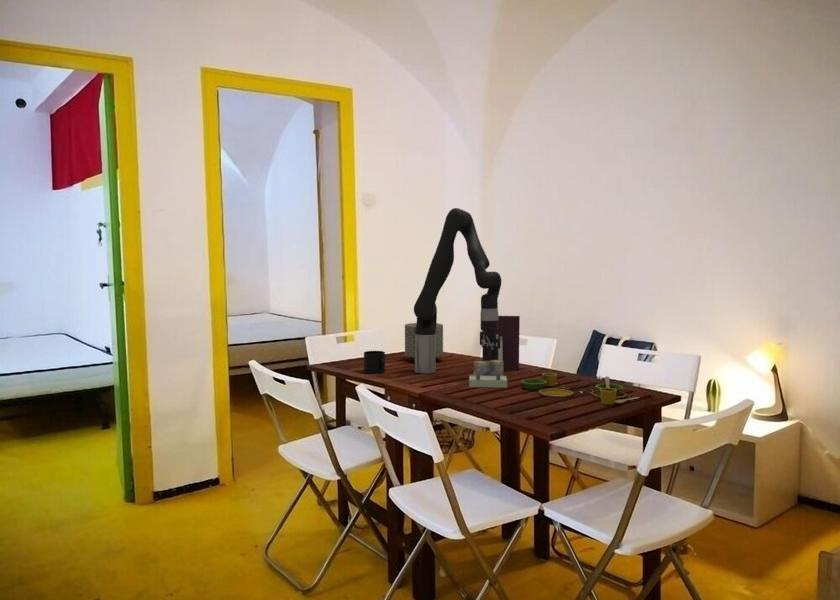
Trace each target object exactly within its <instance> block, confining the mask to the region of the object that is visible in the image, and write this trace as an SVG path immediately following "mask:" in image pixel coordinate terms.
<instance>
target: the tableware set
mask: <svg viewBox="0 0 840 600" xmlns="http://www.w3.org/2000/svg"><path fill="white" fill-rule="evenodd" d="M541 377H542V379H539V378H524V379H522V380H520V382H521V384H522V385H523V386H524V388H525V390H529V391H538V393H539V394H540V395H542V396H543V397H548V398H555V399H556V398H561V399H562V398H569V397H571V396H573V395H574V391H572V390H569V389H566V388H544V387H547V386H554V387H556V385H555V384H557V379H558V378H557V377H558V375H557V373H553V372H545V373H544V372H543V373H542V374H541ZM610 381H611V379H610V376H605V377H604V383H598V384H595V389H598V390H596V391H592V392H590V394H591V396H593V397H594V396H595V397H594V398H596V399H600V402H601V404H602V405H606V406H607V405H608V406H611V405H612V406H613V405H615V403H618V404H622V403H626V402H628V401H627V400H631V401H634V400H633V399H638V398H640V397H639V396H636V397H631V398H630V397H629V398H624V397H627V396H628V395H627V393H626V392H624V391H622V390H624V386H622V385H619V384H615V383H610ZM583 391H584V390H582V391H579V392H580V394H584V393H583ZM618 393H620V394H623V396H619V395H617V394H618ZM620 398H623V399H620ZM638 400H639V399H638Z"/></svg>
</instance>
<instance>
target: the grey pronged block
mask: <svg viewBox="0 0 840 600" xmlns="http://www.w3.org/2000/svg"><path fill="white" fill-rule="evenodd" d="M468 381H469V382H468V384H469V385H468V388H493V389H494V388H496V389H498V388H501V389H504V388H505V389H507V388H508V378H507V376H506V375H503V376H500V367H499V366H496V376H480V366H476V376H474V374H472V375H469V379H468Z"/></svg>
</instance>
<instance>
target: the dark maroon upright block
mask: <svg viewBox="0 0 840 600" xmlns="http://www.w3.org/2000/svg"><path fill="white" fill-rule="evenodd" d="M520 317H521V316H520V315H498V323H499V329H498V330H497V331H496V334H499V335H500V349H498V350H497V359H492V348H491V346H490V345H489V344H488V356H483V353H482V356H481V357H482V360H481V361H490V360H501V361H504V371H514V370H513V369H519V370H520V327H521V326H520V322H521V321H520ZM497 346H498V344H497ZM493 347H494V345H493Z"/></svg>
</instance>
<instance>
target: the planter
mask: <svg viewBox="0 0 840 600" xmlns="http://www.w3.org/2000/svg"><path fill="white" fill-rule="evenodd" d="M416 324H417V322H412V323H411V322H410V323H405V324H404V356H405V357H408V358H409V359H411V360H413V361H414V362H415V328H416ZM443 356H444V324H442V323H438V322H437V325H436V360H437V359H439V358H440V357H443Z"/></svg>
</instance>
